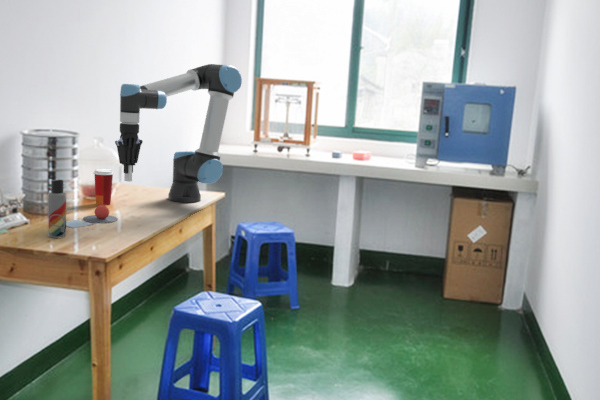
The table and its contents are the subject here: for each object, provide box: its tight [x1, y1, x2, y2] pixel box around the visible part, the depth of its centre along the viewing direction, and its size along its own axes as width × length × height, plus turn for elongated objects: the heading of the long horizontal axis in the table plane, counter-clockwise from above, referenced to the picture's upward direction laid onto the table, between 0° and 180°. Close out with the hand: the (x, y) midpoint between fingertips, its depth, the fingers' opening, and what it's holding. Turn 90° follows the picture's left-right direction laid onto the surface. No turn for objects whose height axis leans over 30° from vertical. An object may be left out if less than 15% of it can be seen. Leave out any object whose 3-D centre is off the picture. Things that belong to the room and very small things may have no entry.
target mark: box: [82, 214, 119, 224], centre depth 236 cm, size 13×13×1 cm
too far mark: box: [66, 219, 94, 229], centre depth 226 cm, size 9×9×1 cm
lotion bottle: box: [47, 179, 67, 239], centre depth 207 cm, size 6×6×20 cm
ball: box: [94, 205, 110, 219], centre depth 237 cm, size 6×6×6 cm
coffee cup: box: [93, 168, 114, 207], centre depth 261 cm, size 8×8×15 cm
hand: (128, 180), depth 246 cm, fingers closed
